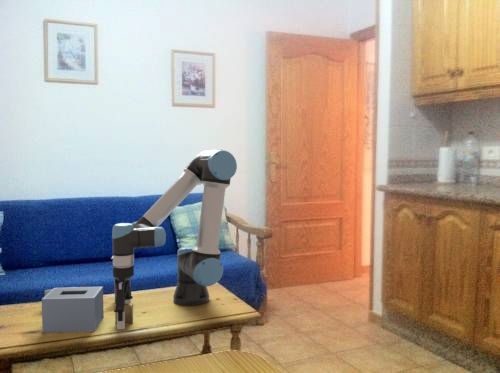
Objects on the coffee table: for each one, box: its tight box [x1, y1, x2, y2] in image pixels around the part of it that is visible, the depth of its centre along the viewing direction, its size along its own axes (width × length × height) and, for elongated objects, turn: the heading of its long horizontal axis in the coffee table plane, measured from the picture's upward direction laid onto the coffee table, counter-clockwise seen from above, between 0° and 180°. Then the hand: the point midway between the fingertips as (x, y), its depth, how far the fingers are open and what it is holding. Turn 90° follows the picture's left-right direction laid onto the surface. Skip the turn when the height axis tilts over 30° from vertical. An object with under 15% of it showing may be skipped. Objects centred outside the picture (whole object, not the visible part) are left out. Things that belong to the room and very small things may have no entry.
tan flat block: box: [114, 303, 134, 326], centre depth 175 cm, size 6×2×7 cm, turn 95°
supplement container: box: [113, 277, 132, 303], centre depth 201 cm, size 7×7×10 cm
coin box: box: [41, 286, 105, 333], centre depth 173 cm, size 18×14×12 cm
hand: (124, 322), depth 175 cm, fingers open, 12 cm apart
